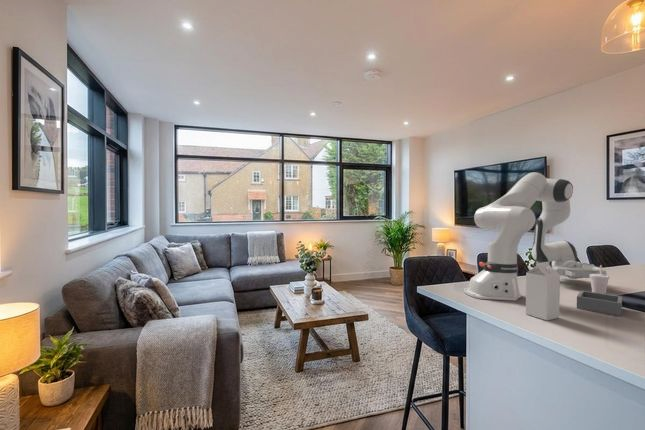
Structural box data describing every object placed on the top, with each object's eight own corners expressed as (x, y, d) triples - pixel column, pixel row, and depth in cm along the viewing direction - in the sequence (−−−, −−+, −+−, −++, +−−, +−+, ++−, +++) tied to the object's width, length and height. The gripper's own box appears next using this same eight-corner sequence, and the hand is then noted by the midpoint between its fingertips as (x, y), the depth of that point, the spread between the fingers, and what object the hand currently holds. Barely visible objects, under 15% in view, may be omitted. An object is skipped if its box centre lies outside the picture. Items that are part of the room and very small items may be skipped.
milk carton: (525, 314, 109) (526, 261, 109) (538, 311, 112) (538, 260, 112) (546, 321, 103) (547, 265, 102) (559, 318, 106) (560, 263, 105)
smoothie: (613, 300, 125) (613, 266, 125) (595, 299, 127) (595, 266, 126) (602, 296, 132) (602, 264, 131) (585, 295, 133) (585, 263, 133)
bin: (620, 316, 108) (620, 303, 108) (576, 308, 116) (576, 296, 116) (621, 308, 116) (622, 296, 116) (580, 301, 125) (580, 290, 124)
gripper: (547, 262, 156) (558, 266, 143) (597, 264, 149) (613, 269, 136) (547, 274, 156) (558, 280, 143) (596, 277, 149) (613, 283, 136)
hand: (585, 275), depth 140 cm, fingers open, 8 cm apart
